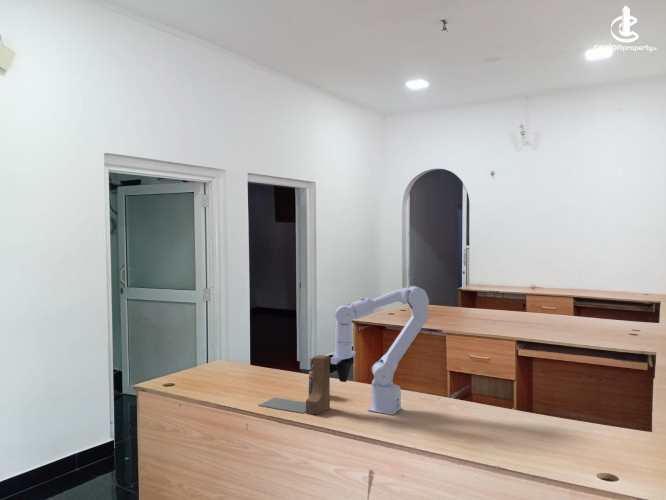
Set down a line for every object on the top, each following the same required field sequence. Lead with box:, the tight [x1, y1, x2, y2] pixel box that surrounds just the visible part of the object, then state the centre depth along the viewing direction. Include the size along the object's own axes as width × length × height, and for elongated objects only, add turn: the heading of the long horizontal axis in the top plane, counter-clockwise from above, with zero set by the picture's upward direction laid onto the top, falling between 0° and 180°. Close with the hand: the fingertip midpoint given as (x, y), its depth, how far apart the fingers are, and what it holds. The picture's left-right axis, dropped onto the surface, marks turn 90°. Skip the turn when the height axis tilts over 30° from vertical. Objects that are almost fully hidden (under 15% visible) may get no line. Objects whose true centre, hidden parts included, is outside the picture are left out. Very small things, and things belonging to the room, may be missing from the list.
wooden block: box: [305, 354, 331, 416], centre depth 175 cm, size 9×4×18 cm, turn 152°
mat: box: [258, 397, 306, 414], centre depth 181 cm, size 18×10×1 cm, turn 62°
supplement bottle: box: [308, 364, 313, 397], centre depth 193 cm, size 6×6×11 cm
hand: (343, 381), depth 176 cm, fingers closed
